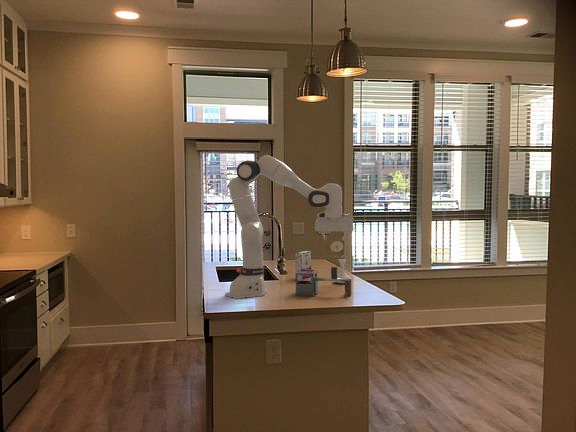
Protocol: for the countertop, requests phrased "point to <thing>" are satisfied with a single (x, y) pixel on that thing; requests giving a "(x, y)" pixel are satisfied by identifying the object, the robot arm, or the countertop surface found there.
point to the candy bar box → (303, 262)
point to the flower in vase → (338, 247)
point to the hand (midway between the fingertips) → (334, 240)
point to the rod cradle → (348, 287)
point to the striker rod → (333, 278)
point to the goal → (305, 283)
